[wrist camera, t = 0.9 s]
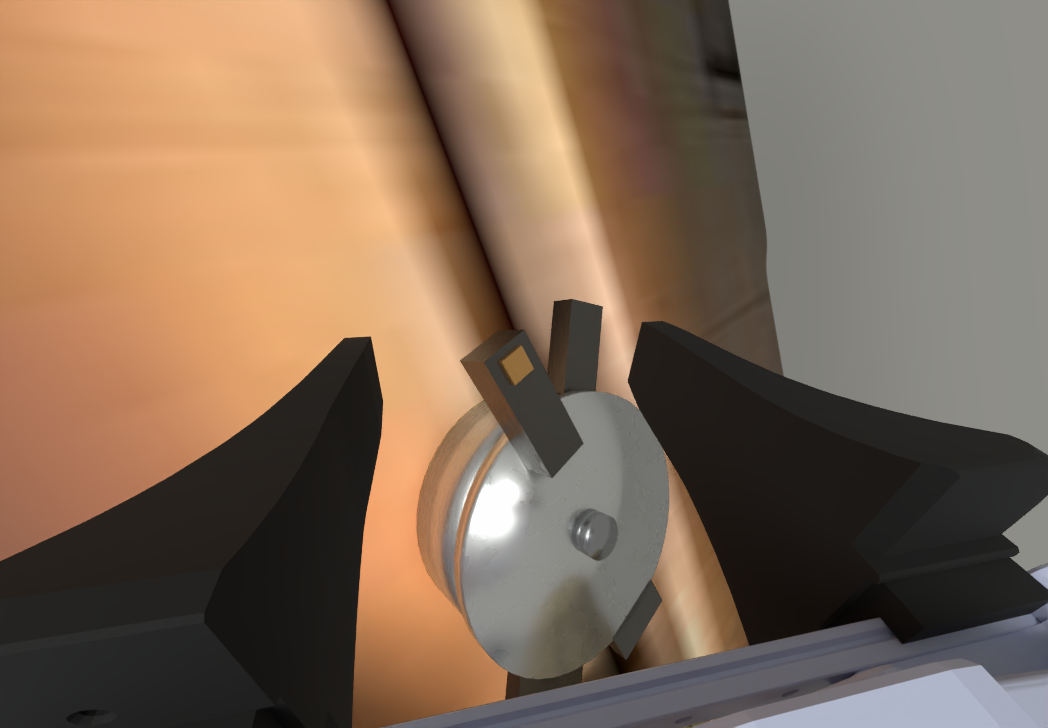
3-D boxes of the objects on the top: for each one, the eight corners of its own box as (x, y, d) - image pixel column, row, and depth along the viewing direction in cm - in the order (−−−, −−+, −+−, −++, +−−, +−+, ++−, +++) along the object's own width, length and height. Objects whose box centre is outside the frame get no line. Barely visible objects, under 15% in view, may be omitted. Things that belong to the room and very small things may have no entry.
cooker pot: (585, 619, 32) (637, 657, 28) (399, 694, 24) (437, 767, 20) (610, 323, 33) (664, 320, 29) (437, 287, 24) (481, 276, 20)
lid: (688, 531, 31) (730, 548, 29) (559, 737, 24) (600, 785, 21) (570, 267, 23) (615, 258, 20) (319, 459, 16) (339, 481, 13)
